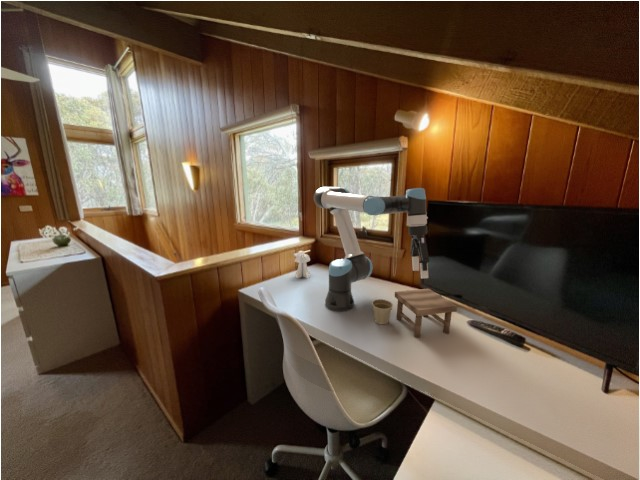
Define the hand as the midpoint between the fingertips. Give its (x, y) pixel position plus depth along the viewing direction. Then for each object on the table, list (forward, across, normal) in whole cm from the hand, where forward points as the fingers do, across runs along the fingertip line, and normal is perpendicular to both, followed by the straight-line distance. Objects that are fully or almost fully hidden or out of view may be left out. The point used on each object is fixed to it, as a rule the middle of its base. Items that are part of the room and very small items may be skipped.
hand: (420, 274), depth 106 cm
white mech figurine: (+11, +56, +64) cm, 86 cm away
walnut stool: (+24, +1, 0) cm, 24 cm away
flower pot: (+22, +2, +18) cm, 28 cm away
